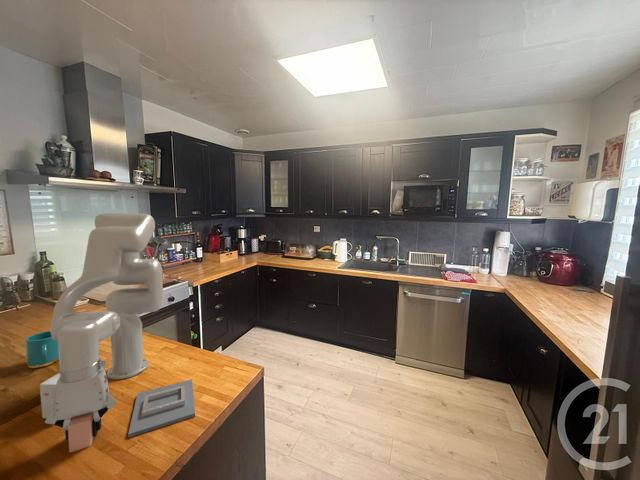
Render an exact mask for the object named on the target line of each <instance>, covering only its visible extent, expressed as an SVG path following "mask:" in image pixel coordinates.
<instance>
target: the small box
mask: <svg viewBox="0 0 640 480" xmlns="http://www.w3.org/2000/svg"><path fill="white" fill-rule="evenodd" d="M59 378H60V372H59V373H56V374H55V375H53V376H52V377H50V378H48V379H46V380H44V382H43V381H42V383H40V384H39V391H40V393H39V395H40V405H41V418H42V419H47V417H48V416H49V415H50V413H51V412H52V411H53V409H54V395H55V389H56V384H57V381H58V379H59Z"/></svg>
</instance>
